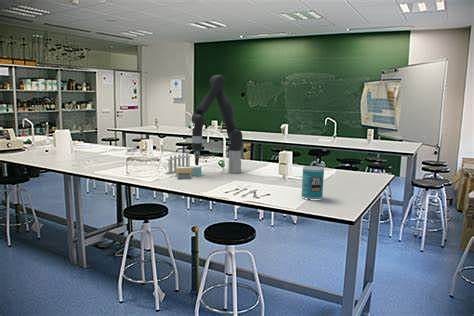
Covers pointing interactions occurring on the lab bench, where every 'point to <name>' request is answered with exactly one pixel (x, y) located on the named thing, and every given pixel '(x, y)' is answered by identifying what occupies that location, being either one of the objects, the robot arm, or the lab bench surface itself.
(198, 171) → the stub
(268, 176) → the lab bench surface
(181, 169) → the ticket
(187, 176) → the tray
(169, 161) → the test tube rack
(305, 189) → the food can
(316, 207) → the lab bench surface
